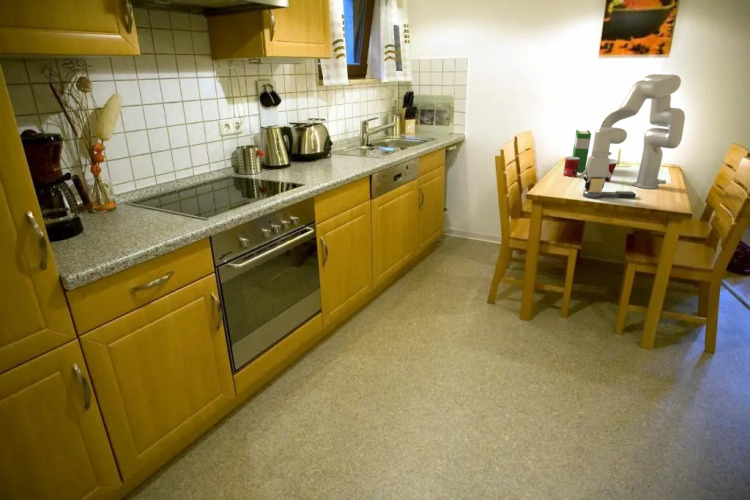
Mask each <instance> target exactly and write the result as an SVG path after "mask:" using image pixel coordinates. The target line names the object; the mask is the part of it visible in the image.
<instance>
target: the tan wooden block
mask: <svg viewBox="0 0 750 500" xmlns="http://www.w3.org/2000/svg"><path fill="white" fill-rule="evenodd" d="M603 182H604V179H603V178H601V177H592V178H590V181H589V183H590V184H589V190H587V191H588V192H599V193H602V192H603V189H602V187H603ZM603 188H604V187H603Z"/></svg>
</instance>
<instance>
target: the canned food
mask: <svg viewBox="0 0 750 500" xmlns="http://www.w3.org/2000/svg"><path fill="white" fill-rule="evenodd" d="M579 160H580V158H578V157H572V156H566V157H565V160H564V166H563V167H564V168H563V173H562V174H563V176H564V177H567V176H568V178H574V177H575V178H576V177H577V176H578V173H577V172H578V167H579Z"/></svg>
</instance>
